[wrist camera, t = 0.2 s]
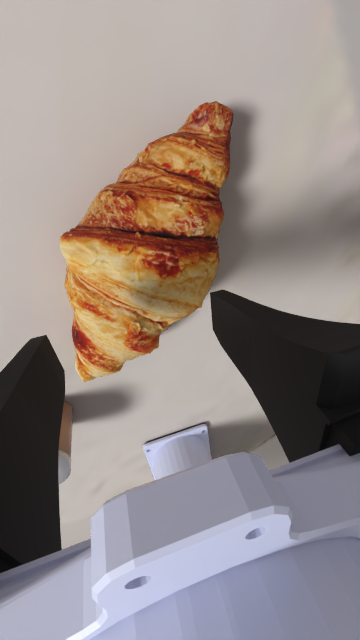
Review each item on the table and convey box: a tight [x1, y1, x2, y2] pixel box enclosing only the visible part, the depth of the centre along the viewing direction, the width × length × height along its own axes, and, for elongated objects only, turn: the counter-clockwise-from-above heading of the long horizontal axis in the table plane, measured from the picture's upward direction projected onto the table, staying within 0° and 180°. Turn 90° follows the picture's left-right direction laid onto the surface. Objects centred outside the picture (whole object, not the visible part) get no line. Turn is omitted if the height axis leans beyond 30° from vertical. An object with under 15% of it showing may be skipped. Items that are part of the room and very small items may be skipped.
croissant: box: [60, 101, 233, 382], centre depth 19 cm, size 21×10×8 cm, turn 151°
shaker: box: [58, 401, 73, 484], centre depth 24 cm, size 4×4×6 cm
